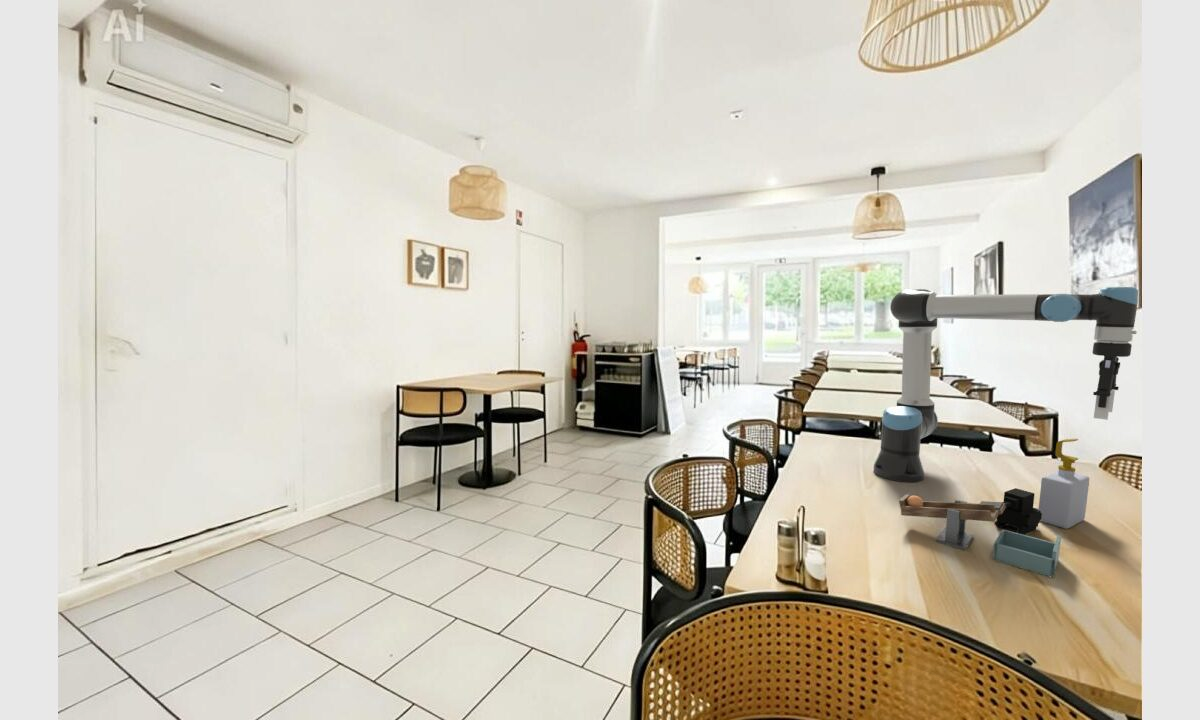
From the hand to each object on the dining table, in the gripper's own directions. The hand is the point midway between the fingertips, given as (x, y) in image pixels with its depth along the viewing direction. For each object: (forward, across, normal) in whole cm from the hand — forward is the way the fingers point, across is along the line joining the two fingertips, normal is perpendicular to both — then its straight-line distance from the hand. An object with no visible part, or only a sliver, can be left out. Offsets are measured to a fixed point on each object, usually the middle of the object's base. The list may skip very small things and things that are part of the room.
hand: (1103, 415), depth 141 cm
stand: (+28, -54, +20) cm, 64 cm away
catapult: (+22, -52, +22) cm, 60 cm away
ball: (+21, -55, +30) cm, 66 cm away
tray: (+28, -54, +6) cm, 61 cm away
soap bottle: (+28, -19, +4) cm, 34 cm away
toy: (+28, -37, +12) cm, 48 cm away
